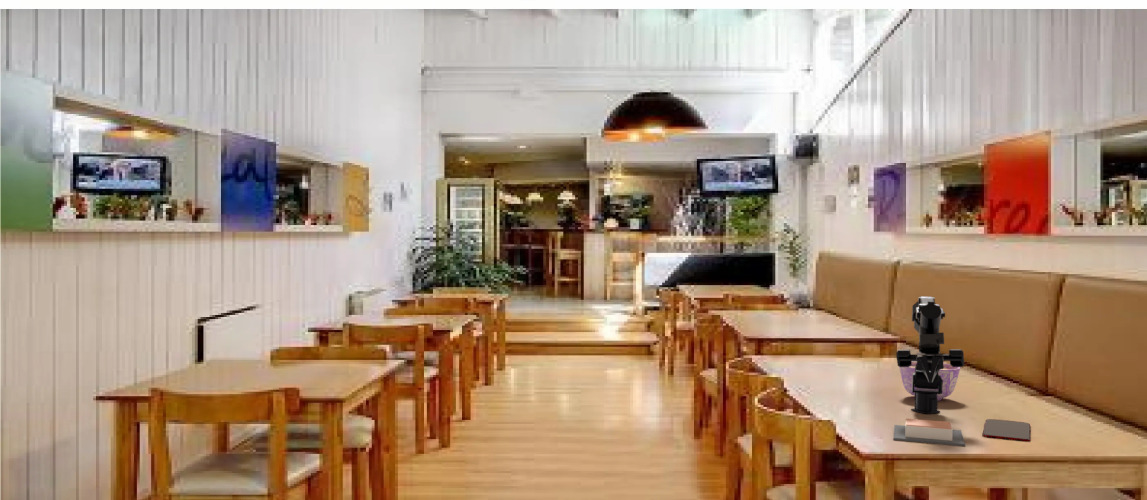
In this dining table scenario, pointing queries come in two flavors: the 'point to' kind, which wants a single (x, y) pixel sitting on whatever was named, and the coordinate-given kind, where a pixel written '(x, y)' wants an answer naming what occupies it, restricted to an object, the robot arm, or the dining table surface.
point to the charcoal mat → (956, 439)
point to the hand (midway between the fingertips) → (930, 382)
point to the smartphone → (1006, 430)
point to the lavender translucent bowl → (947, 374)
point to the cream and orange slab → (928, 429)
